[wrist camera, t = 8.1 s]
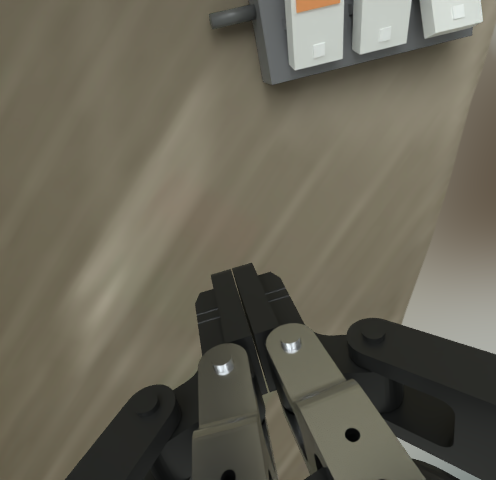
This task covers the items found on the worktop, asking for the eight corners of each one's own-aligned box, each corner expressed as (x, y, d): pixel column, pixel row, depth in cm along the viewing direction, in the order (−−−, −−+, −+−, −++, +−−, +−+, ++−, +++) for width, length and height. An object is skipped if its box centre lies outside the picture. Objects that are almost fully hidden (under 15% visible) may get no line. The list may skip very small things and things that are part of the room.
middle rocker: (355, -45, 30) (365, -43, 29) (407, -57, 31) (419, -55, 29) (352, 49, 35) (360, 55, 34) (396, 38, 35) (407, 43, 34)
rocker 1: (282, -29, 30) (289, -26, 28) (336, -41, 30) (345, -38, 29) (288, 64, 35) (295, 71, 33) (335, 53, 35) (343, 59, 34)
